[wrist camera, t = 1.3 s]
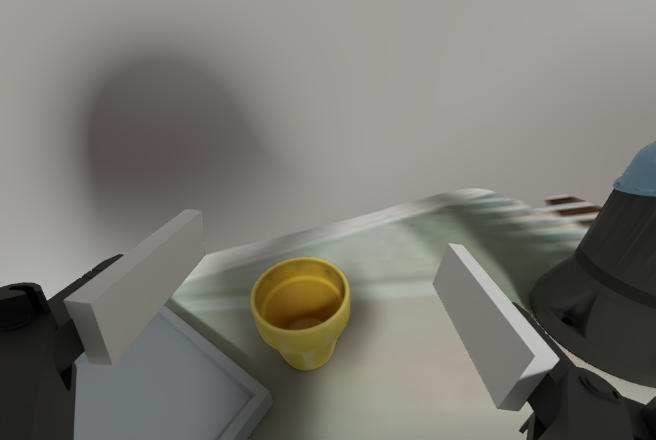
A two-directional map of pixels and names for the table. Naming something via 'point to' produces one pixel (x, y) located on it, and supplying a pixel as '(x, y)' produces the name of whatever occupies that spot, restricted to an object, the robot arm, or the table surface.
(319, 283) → the plant pot
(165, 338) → the tray
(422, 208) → the table surface
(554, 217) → the table surface
